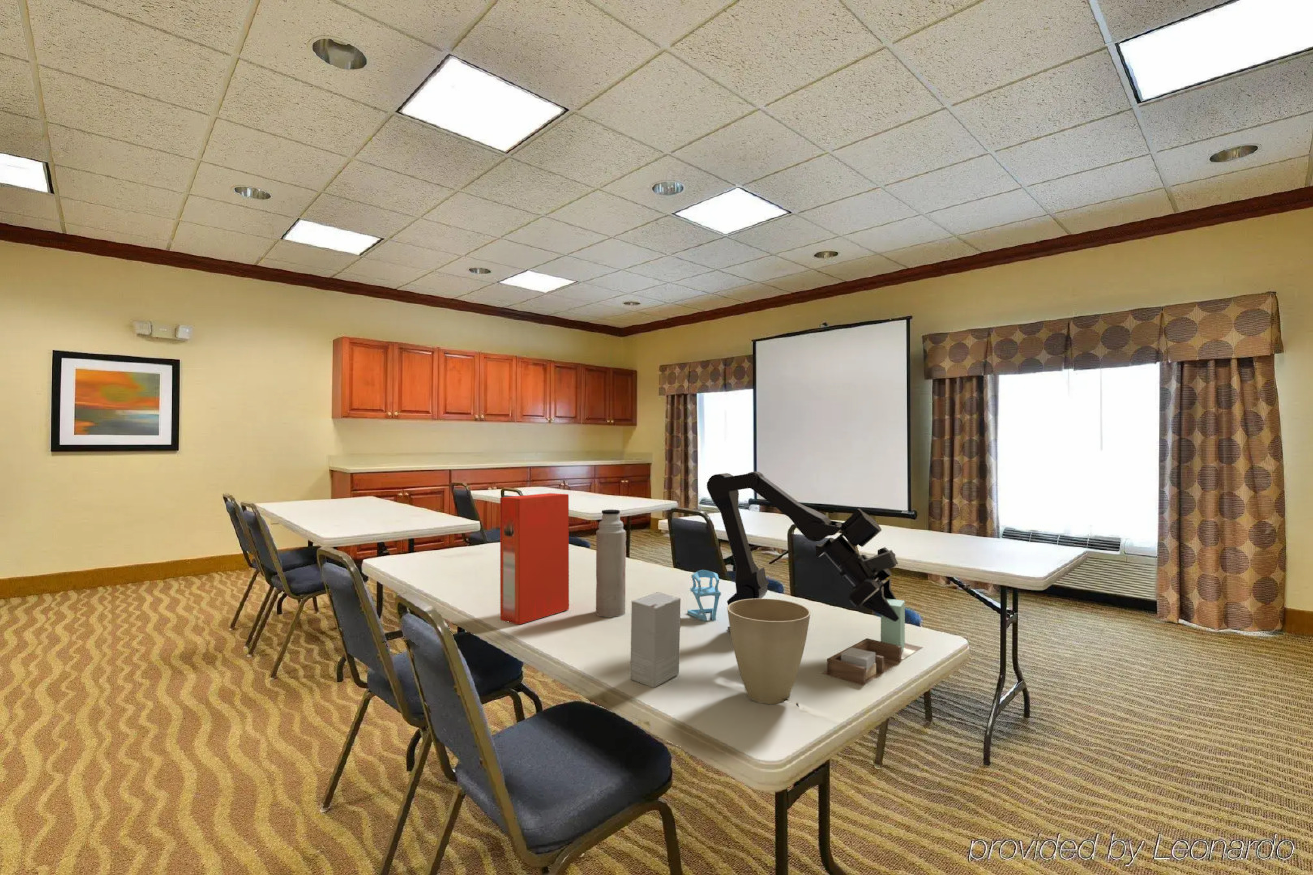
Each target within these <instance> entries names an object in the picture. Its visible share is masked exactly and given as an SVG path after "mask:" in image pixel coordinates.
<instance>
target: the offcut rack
mask: <svg viewBox="0 0 1313 875" xmlns="http://www.w3.org/2000/svg"><path fill="white" fill-rule="evenodd" d="M850 647H852V648H856V649H861V650H866V651H870V652H875V663H876V674H875V675H873V676H872V677H870V678H868V679H867V680H866V667H863V666H859V665H856V664H852V663H848V662H845V661H841V654H842V653H843V652H844V651H846V650H847V649H849V648H850ZM921 649H924V648H923V646H919V645H915V644H909V643H906V642H905V647H904V649H903V650H902V646H898V645H893V644H889V643H885V642H881V640H877V639H876V640H875V639H873V638H872V639H871V638H864V639H862V640H861V641H859V642H857V643H855V644H853V645H851V646H848V647H847V648H845V649H843V650H841V651H840V652H837V653H836V654H834V655H832V656H830V657H828V658H827V659H826V670H825V671H823V672H822V673H821V674H823V675H826V676H830V677H833V678H836V679H839V680H844V681H847V682H849V683H853V684H857V685H861V686H864V685H866V684H867V683H869V682H871V681H872V680H874V679H876V678H877V677H879V676H880V675H882V674H883V673H886V672H887V671H889V670H890V669H892V668H893V667H895V666H896V665H897V664H899V663H901V662H902V661H904V660H906V659H908V657H910V656H912V655H913V654H915V653H916V652H918V651H920V650H921Z"/></svg>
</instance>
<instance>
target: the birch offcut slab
mask: <svg viewBox="0 0 1313 875" xmlns="http://www.w3.org/2000/svg"><path fill="white" fill-rule="evenodd" d="M875 674H876V663H874V664H873V665H872V666H871V667H870V668H869V669H867V670H866V680H867V679H868V678H870V677H872V676H873V675H875Z"/></svg>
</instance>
